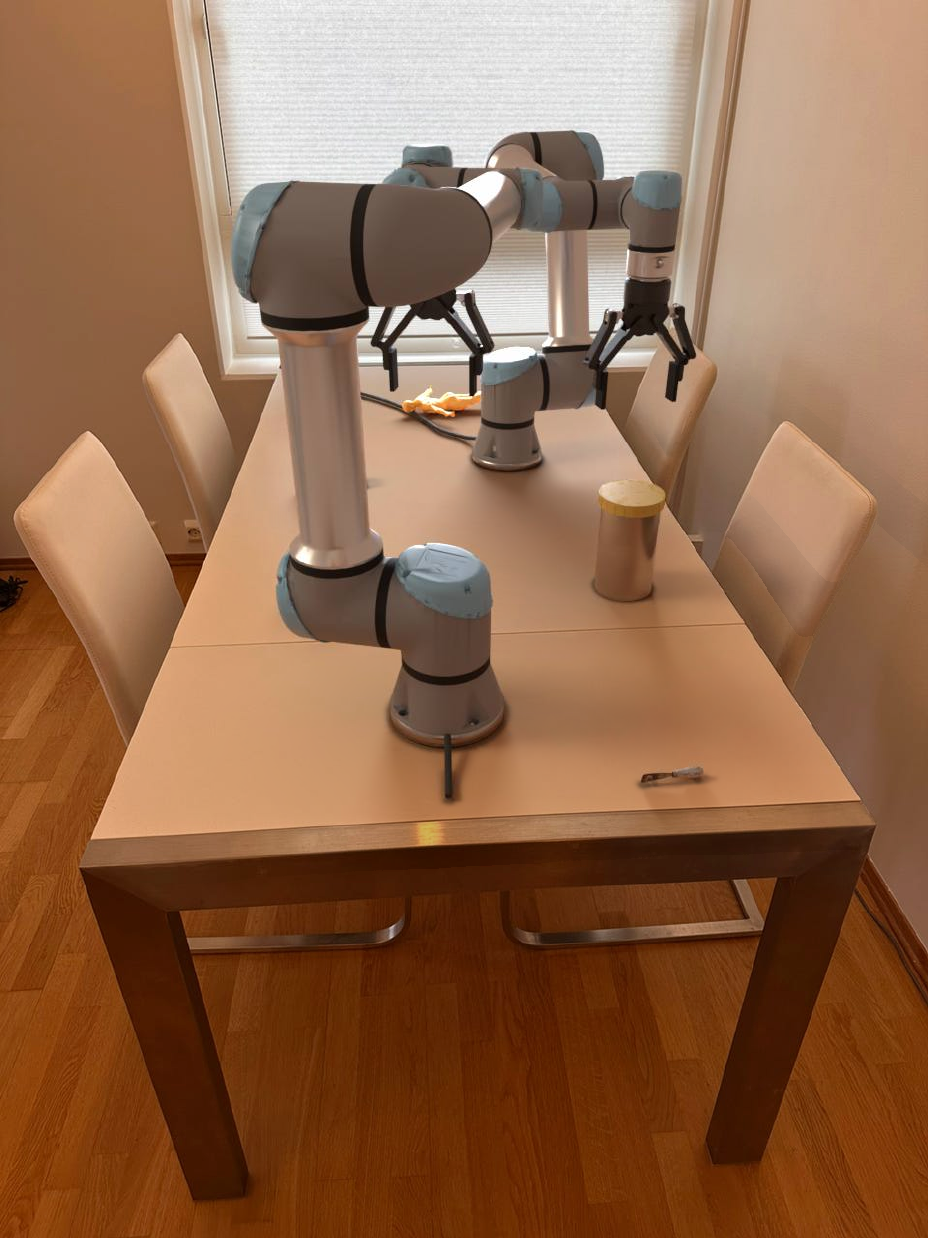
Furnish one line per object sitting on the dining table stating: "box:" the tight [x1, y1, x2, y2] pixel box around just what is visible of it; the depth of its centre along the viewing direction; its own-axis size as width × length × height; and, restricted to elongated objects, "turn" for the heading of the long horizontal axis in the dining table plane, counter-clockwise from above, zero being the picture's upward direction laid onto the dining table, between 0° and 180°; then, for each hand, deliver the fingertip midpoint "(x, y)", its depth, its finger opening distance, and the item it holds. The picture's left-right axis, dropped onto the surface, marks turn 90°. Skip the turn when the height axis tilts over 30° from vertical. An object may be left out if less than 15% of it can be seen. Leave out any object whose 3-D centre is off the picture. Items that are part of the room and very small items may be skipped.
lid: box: [597, 479, 667, 518], centre depth 141 cm, size 10×10×2 cm
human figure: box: [401, 385, 481, 418], centre depth 225 cm, size 20×20×4 cm
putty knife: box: [640, 765, 705, 784], centre depth 109 cm, size 1×8×2 cm, turn 103°
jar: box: [593, 507, 661, 602], centre depth 145 cm, size 9×9×17 cm
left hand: (433, 391), depth 149 cm, fingers open, 13 cm apart
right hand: (635, 403), depth 157 cm, fingers open, 13 cm apart
